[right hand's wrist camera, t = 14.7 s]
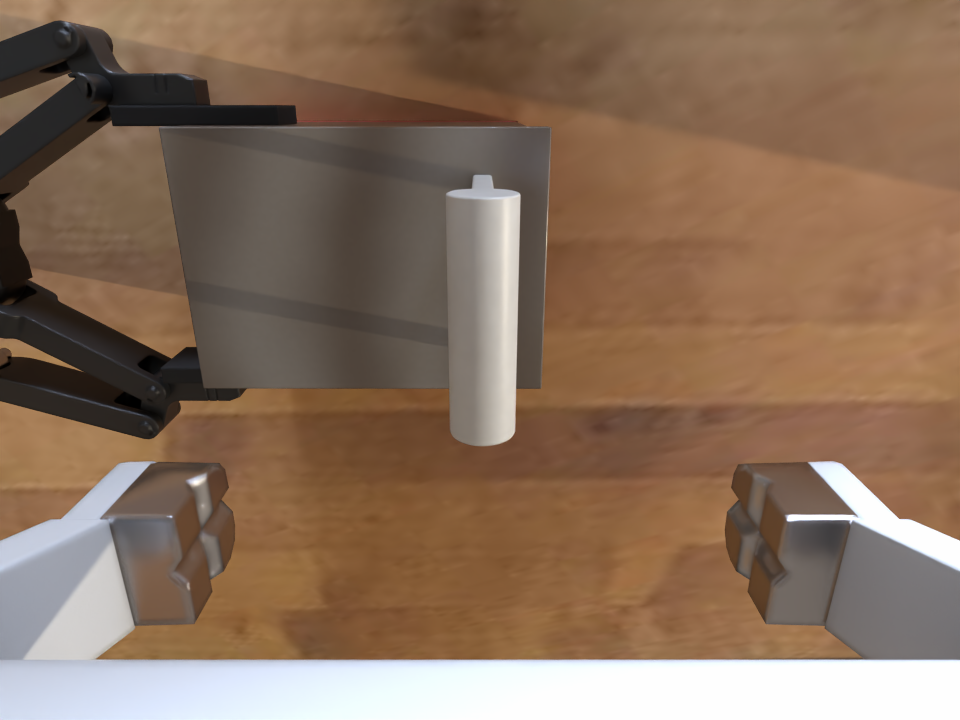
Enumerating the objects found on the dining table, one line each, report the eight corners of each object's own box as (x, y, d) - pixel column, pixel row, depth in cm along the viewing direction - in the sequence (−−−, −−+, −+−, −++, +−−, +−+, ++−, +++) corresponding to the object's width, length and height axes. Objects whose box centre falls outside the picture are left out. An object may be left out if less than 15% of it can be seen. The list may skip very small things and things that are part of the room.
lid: (548, 126, 24) (583, 135, 16) (539, 379, 28) (563, 490, 20) (171, 126, 24) (15, 135, 16) (213, 378, 28) (104, 489, 20)
